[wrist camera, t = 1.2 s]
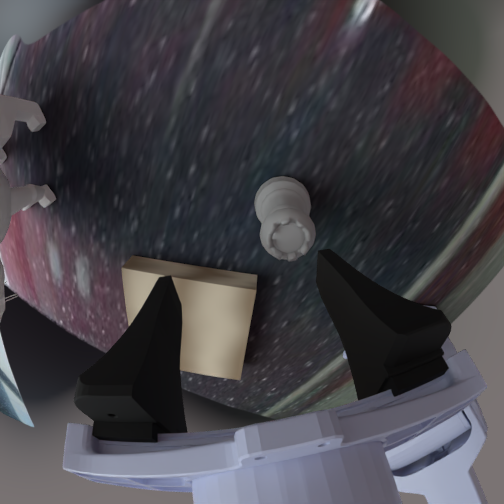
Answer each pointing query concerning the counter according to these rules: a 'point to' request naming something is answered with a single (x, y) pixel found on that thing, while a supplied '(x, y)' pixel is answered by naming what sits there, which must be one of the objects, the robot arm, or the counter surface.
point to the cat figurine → (3, 197)
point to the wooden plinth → (200, 311)
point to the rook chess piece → (285, 218)
